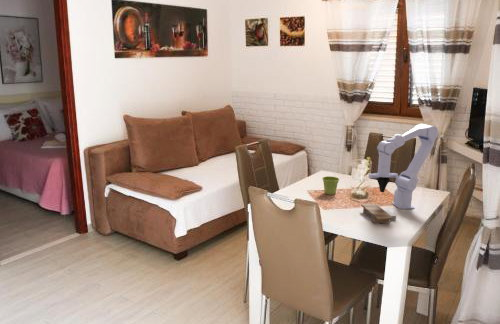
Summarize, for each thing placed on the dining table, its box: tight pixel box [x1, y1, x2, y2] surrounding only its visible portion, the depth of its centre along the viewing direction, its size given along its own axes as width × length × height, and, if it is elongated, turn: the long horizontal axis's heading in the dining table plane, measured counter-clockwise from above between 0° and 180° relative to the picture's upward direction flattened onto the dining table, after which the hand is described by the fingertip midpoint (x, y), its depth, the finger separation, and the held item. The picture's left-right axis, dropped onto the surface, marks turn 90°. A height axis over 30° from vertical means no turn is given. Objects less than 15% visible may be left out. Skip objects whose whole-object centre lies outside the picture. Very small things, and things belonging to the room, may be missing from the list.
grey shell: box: [383, 209, 397, 221], centre depth 219 cm, size 8×10×2 cm
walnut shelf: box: [360, 203, 393, 224], centre depth 218 cm, size 20×8×4 cm, turn 9°
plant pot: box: [322, 176, 340, 196], centre depth 254 cm, size 9×9×9 cm
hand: (381, 191), depth 228 cm, fingers closed
